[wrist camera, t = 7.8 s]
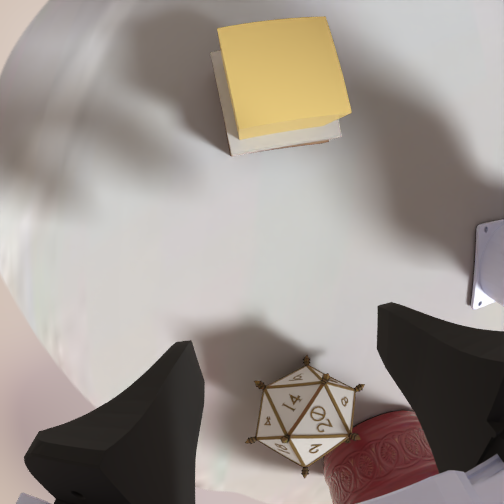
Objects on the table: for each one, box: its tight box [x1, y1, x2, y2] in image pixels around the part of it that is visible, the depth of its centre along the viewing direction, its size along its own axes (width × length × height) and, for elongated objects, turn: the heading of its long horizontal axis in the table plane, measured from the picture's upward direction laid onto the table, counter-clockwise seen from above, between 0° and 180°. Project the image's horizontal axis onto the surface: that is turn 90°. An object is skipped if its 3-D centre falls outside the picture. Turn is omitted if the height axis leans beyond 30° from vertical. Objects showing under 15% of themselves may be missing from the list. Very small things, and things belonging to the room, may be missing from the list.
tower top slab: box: [210, 50, 342, 156], centre depth 16 cm, size 6×6×2 cm
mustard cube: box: [217, 17, 352, 140], centre depth 12 cm, size 4×4×4 cm
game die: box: [245, 355, 365, 478], centre depth 20 cm, size 9×8×10 cm
